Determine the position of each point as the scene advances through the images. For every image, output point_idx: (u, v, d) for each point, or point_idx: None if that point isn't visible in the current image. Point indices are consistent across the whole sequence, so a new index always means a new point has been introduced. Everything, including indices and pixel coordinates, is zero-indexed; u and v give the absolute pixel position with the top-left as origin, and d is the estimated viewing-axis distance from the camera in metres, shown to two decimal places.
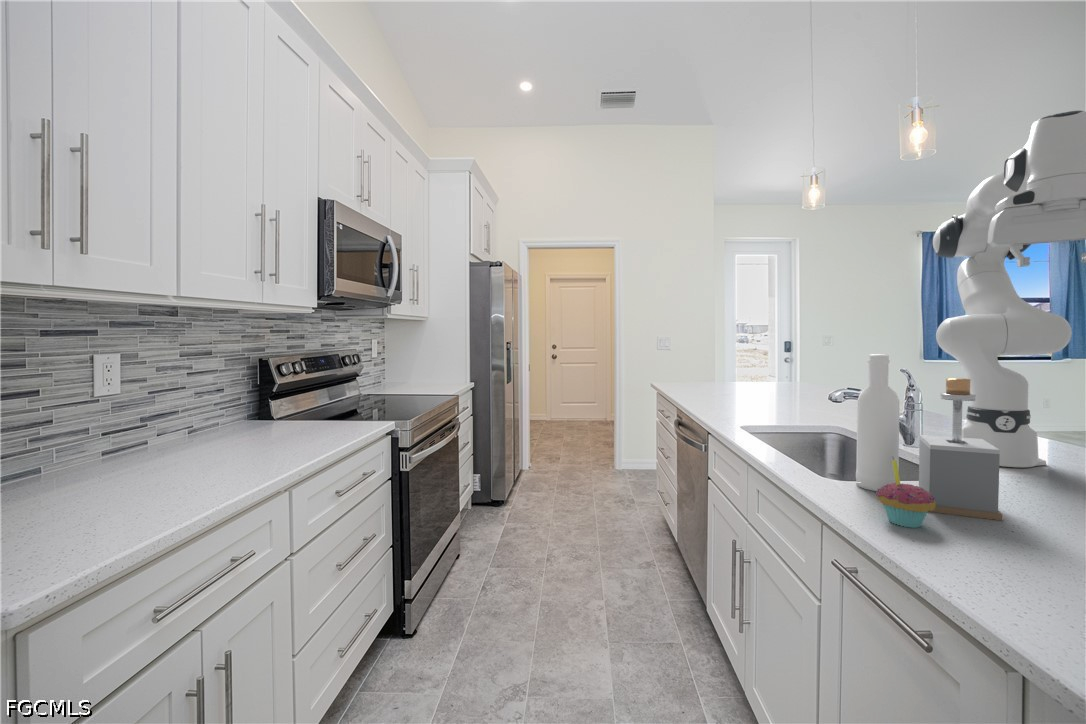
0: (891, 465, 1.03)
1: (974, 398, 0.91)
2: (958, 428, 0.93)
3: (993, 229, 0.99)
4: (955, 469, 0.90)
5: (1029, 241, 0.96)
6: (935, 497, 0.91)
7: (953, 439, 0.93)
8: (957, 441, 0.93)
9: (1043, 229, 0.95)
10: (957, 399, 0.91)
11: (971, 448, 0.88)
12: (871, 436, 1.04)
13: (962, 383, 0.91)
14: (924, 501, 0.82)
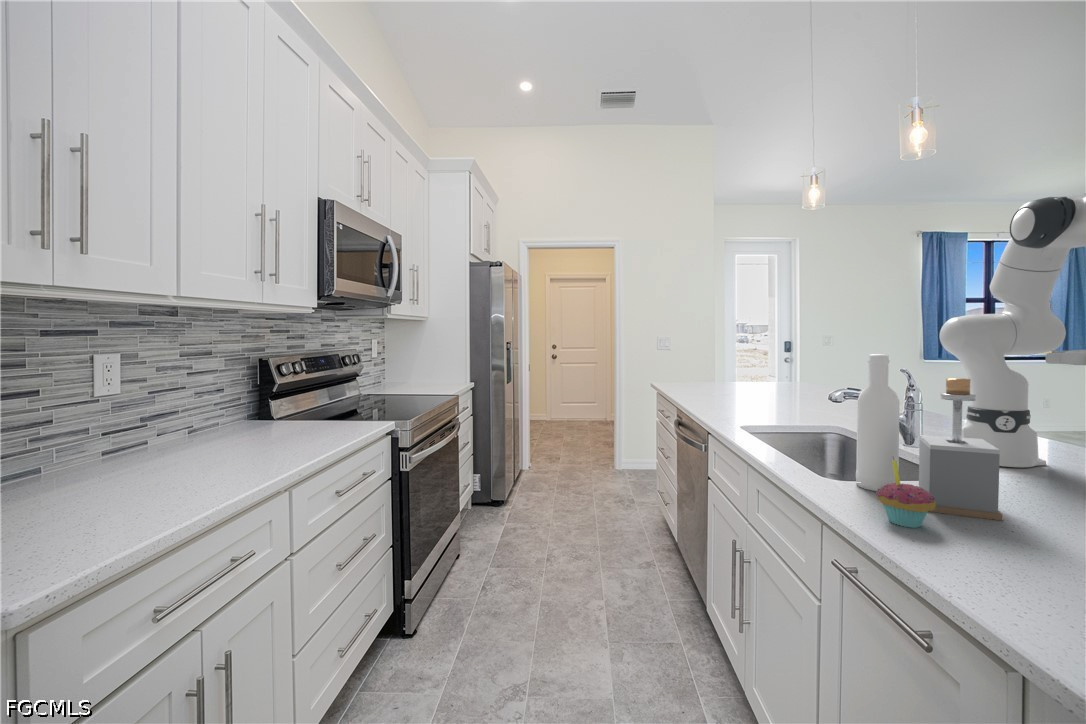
0: (891, 465, 1.03)
1: (974, 398, 0.91)
2: (958, 428, 0.93)
3: None
4: (955, 469, 0.90)
5: None
6: (935, 497, 0.91)
7: (953, 439, 0.93)
8: (957, 441, 0.93)
9: None
10: (957, 399, 0.91)
11: (971, 448, 0.88)
12: (871, 437, 1.04)
13: (962, 383, 0.91)
14: (924, 501, 0.82)
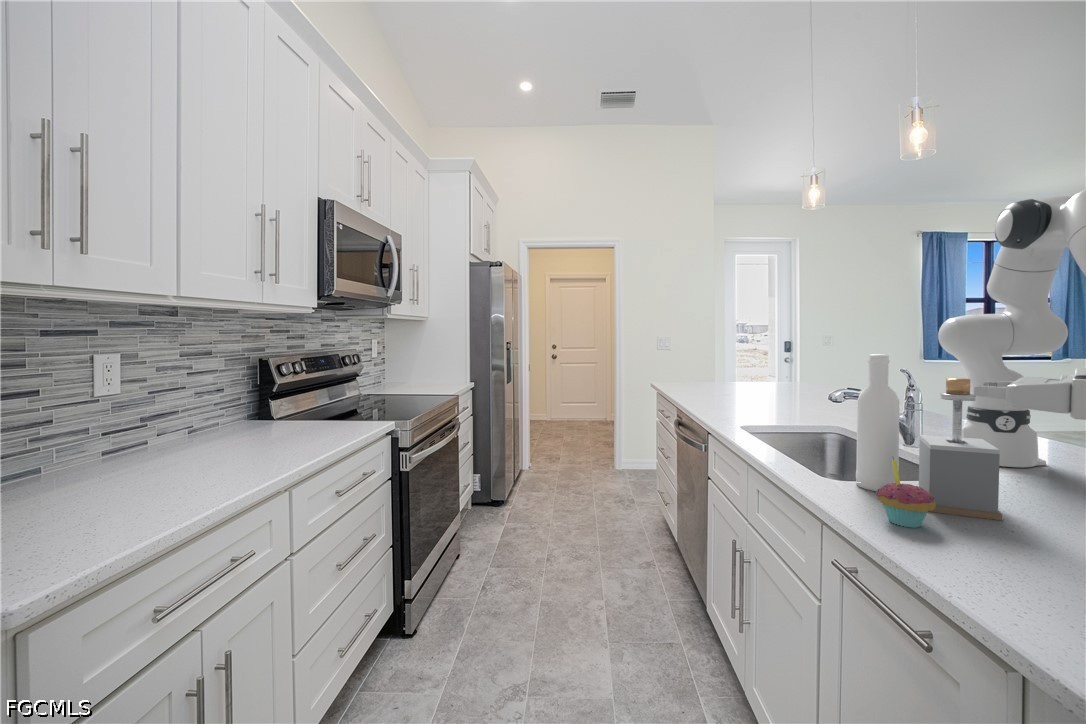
0: (891, 465, 1.03)
1: (974, 398, 0.91)
2: (958, 428, 0.93)
3: (1033, 405, 0.78)
4: (955, 469, 0.90)
5: None
6: (935, 497, 0.91)
7: (953, 439, 0.93)
8: (957, 441, 0.93)
9: None
10: (957, 399, 0.91)
11: (971, 448, 0.88)
12: (871, 437, 1.04)
13: (962, 383, 0.91)
14: (924, 501, 0.82)
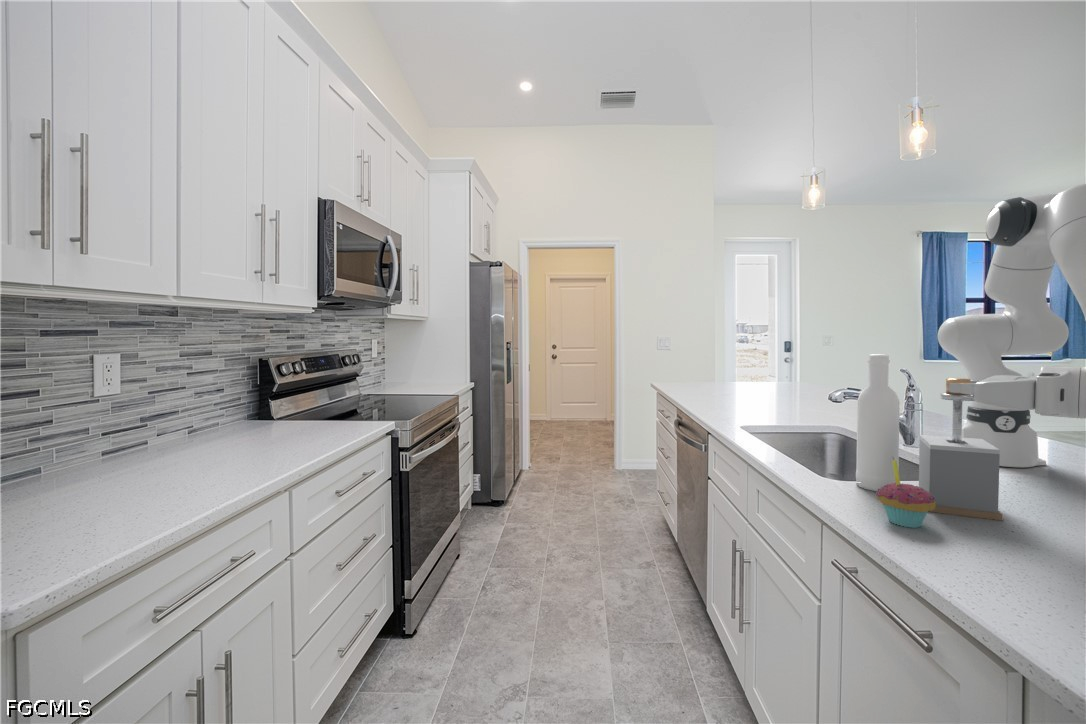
0: (891, 465, 1.03)
1: None
2: (958, 428, 0.93)
3: (999, 402, 0.81)
4: (955, 469, 0.90)
5: None
6: (935, 497, 0.91)
7: (953, 439, 0.93)
8: (957, 441, 0.93)
9: None
10: (957, 399, 0.91)
11: (971, 448, 0.88)
12: (871, 436, 1.04)
13: None
14: (924, 501, 0.82)
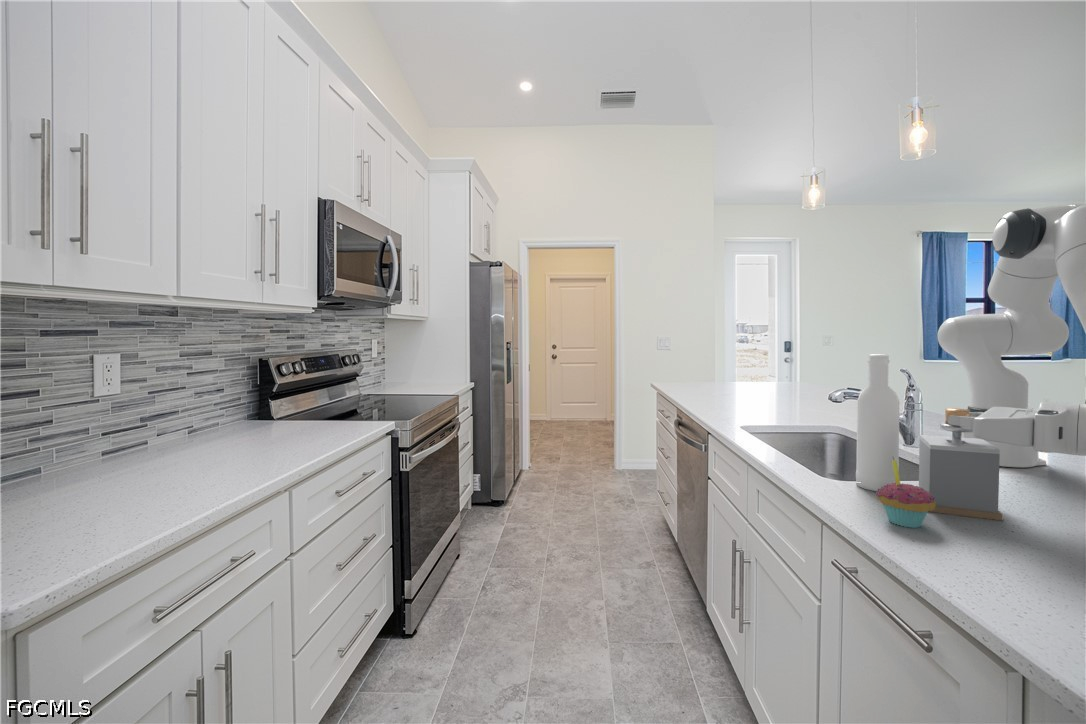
0: (891, 465, 1.03)
1: None
2: None
3: (998, 438, 0.81)
4: (955, 469, 0.90)
5: None
6: (935, 497, 0.91)
7: None
8: None
9: None
10: (956, 430, 0.91)
11: (971, 448, 0.88)
12: (871, 437, 1.04)
13: (962, 414, 0.91)
14: (924, 501, 0.82)
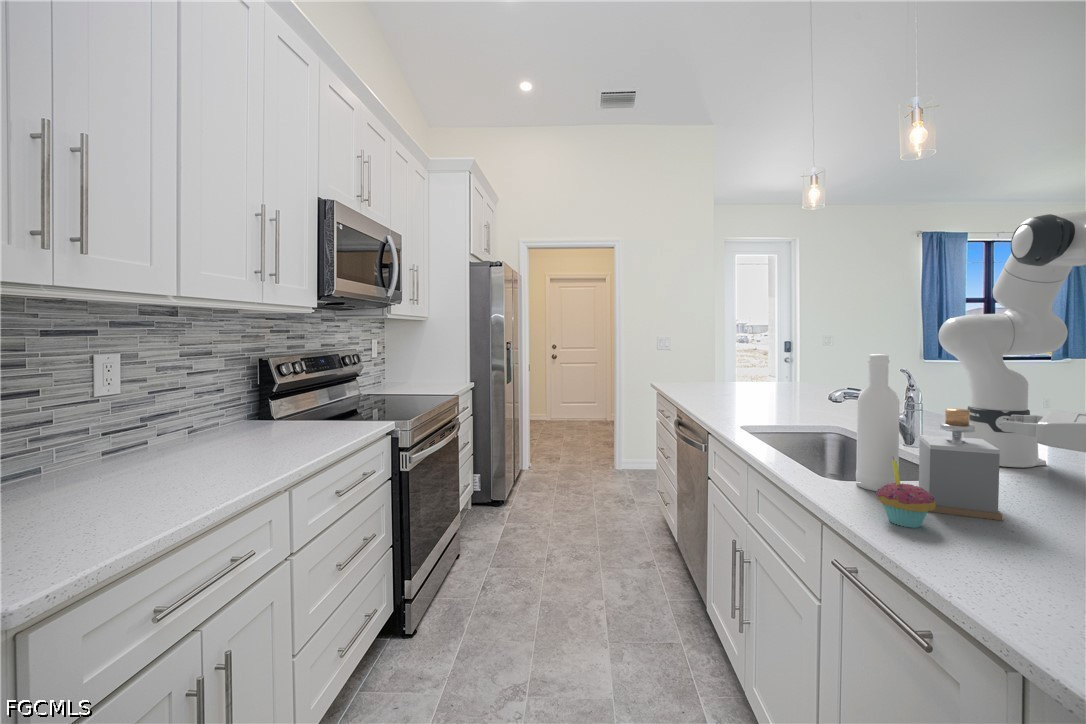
0: (891, 465, 1.03)
1: (973, 429, 0.91)
2: None
3: (1065, 445, 0.75)
4: (955, 469, 0.90)
5: None
6: (935, 497, 0.91)
7: None
8: None
9: None
10: (956, 430, 0.91)
11: (971, 448, 0.88)
12: (871, 437, 1.04)
13: (962, 414, 0.91)
14: (924, 501, 0.82)
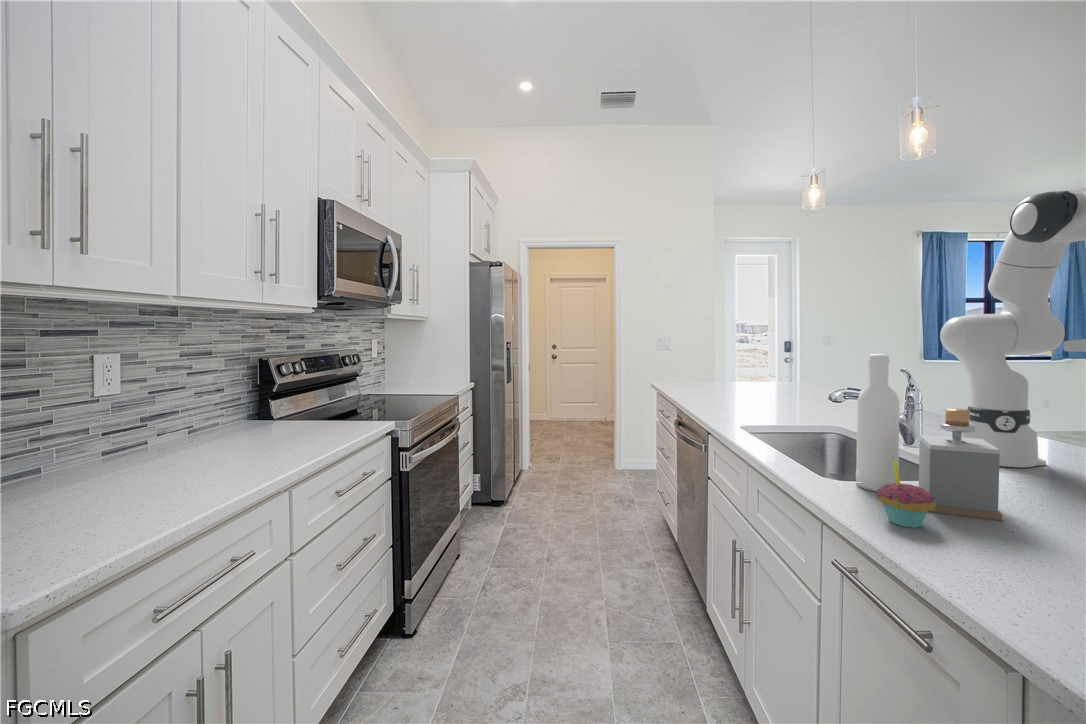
0: (891, 465, 1.03)
1: (973, 429, 0.91)
2: None
3: None
4: (955, 469, 0.90)
5: None
6: (935, 497, 0.91)
7: None
8: None
9: None
10: (956, 430, 0.91)
11: (971, 448, 0.88)
12: (871, 437, 1.04)
13: (962, 414, 0.91)
14: (924, 501, 0.82)
